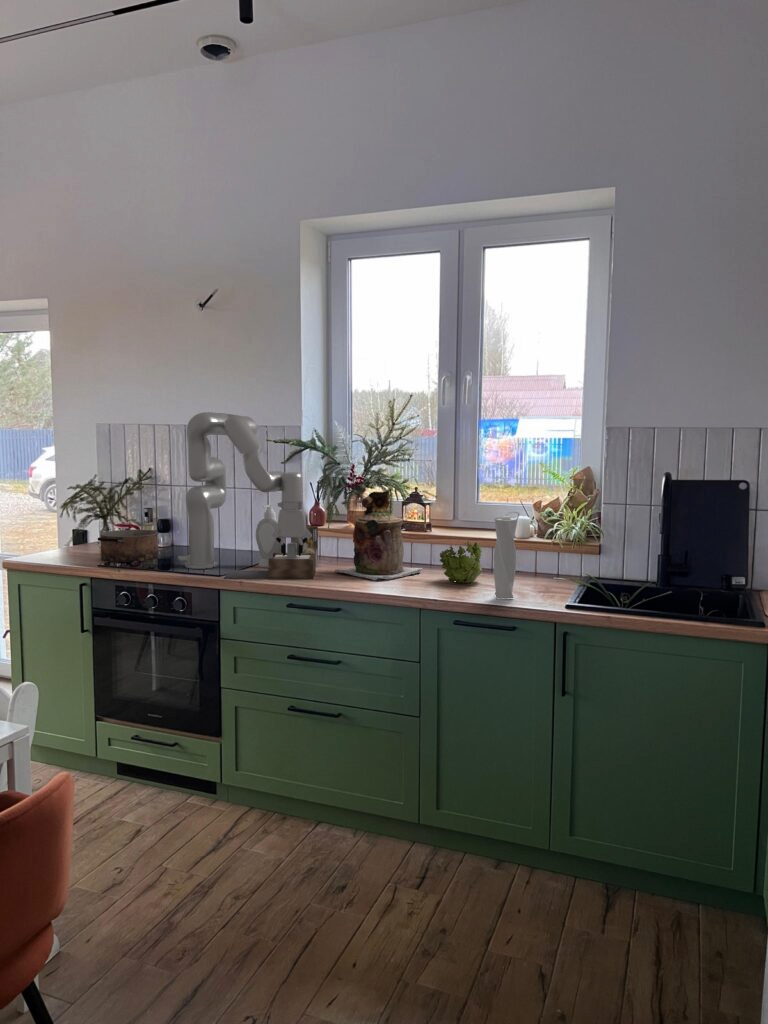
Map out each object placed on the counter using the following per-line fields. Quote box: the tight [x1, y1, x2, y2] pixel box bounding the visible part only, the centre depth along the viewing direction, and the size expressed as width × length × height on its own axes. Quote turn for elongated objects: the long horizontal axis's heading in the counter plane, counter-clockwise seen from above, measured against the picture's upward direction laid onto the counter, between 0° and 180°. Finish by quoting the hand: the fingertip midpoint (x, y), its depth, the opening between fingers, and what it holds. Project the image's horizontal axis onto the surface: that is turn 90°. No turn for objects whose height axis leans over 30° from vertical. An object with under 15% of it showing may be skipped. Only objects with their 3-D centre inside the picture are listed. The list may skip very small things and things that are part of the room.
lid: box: [273, 542, 311, 559], centre depth 280 cm, size 13×11×6 cm
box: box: [268, 552, 317, 580], centre depth 280 cm, size 16×15×7 cm
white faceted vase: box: [493, 511, 520, 599], centre depth 246 cm, size 8×8×28 cm
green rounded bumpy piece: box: [439, 540, 483, 583], centre depth 271 cm, size 18×16×16 cm
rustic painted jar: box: [334, 489, 423, 581], centre depth 285 cm, size 25×25×32 cm
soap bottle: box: [255, 504, 282, 568], centre depth 296 cm, size 13×8×24 cm, turn 69°
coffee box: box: [290, 525, 319, 568], centre depth 297 cm, size 9×6×16 cm
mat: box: [223, 569, 269, 580], centre depth 280 cm, size 15×15×1 cm
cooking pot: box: [97, 529, 160, 563], centre depth 313 cm, size 30×22×11 cm
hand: (291, 554), depth 280 cm, fingers open, 5 cm apart
